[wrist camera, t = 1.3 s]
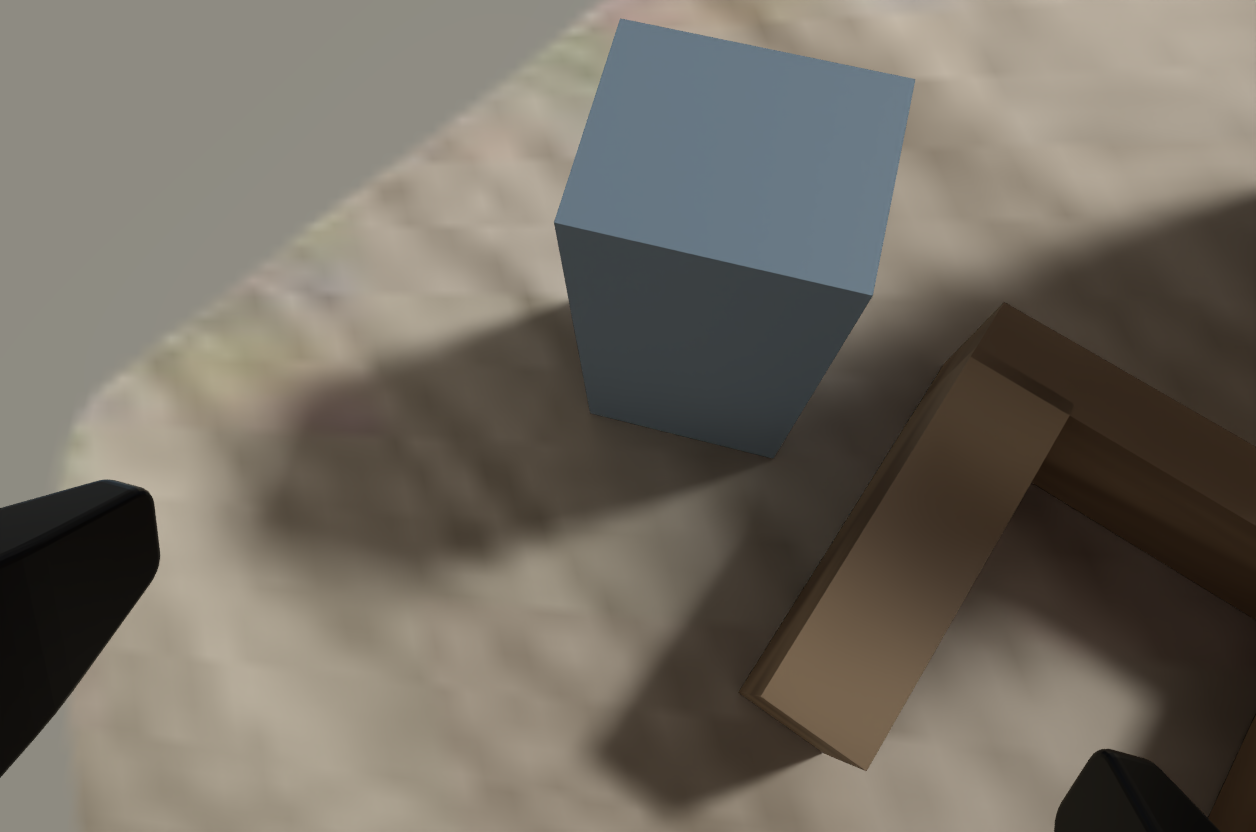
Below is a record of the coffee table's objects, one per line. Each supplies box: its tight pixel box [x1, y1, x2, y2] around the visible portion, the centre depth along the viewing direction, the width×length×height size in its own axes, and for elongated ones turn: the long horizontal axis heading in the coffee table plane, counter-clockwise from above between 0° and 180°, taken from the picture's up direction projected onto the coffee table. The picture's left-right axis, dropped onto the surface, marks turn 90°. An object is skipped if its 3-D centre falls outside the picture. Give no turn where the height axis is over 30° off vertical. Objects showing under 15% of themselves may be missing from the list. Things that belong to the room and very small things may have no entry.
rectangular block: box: [554, 18, 915, 458], centre depth 18 cm, size 4×5×10 cm
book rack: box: [738, 302, 1256, 832], centre depth 19 cm, size 10×13×4 cm
